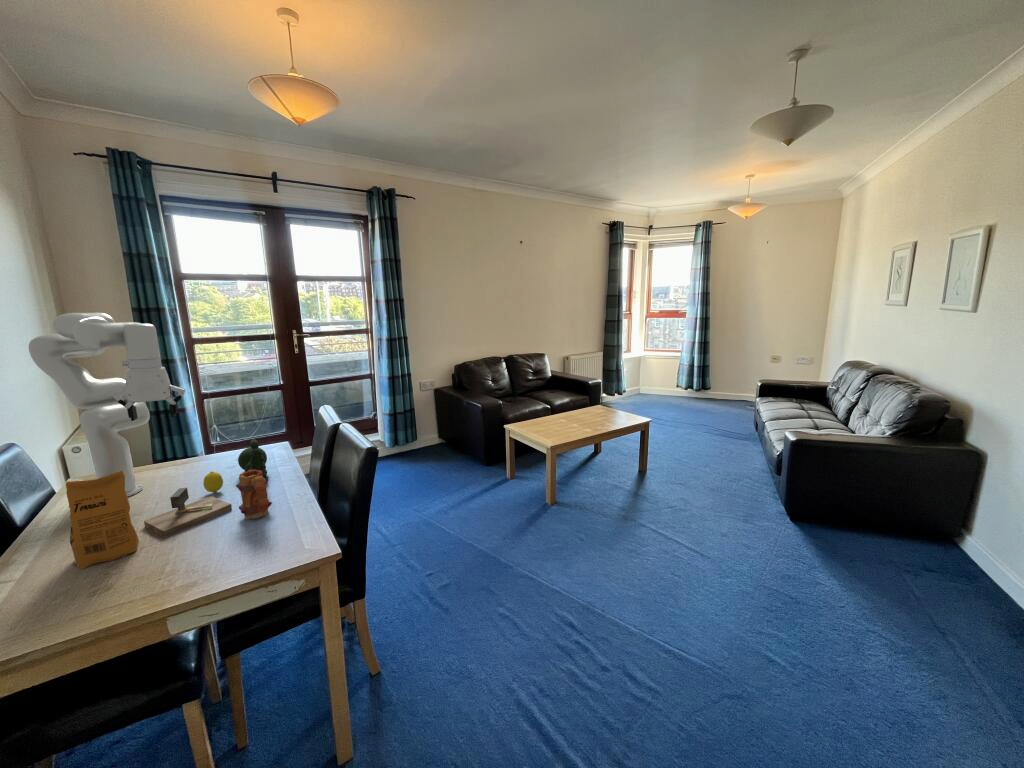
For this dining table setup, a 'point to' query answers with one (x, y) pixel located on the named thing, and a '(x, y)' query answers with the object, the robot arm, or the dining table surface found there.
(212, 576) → the dining table surface
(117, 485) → the coffee package
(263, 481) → the orange lumpy cylinder
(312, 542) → the dining table surface
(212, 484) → the lemon
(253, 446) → the toy figurine
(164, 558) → the dining table surface
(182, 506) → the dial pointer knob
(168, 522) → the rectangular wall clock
